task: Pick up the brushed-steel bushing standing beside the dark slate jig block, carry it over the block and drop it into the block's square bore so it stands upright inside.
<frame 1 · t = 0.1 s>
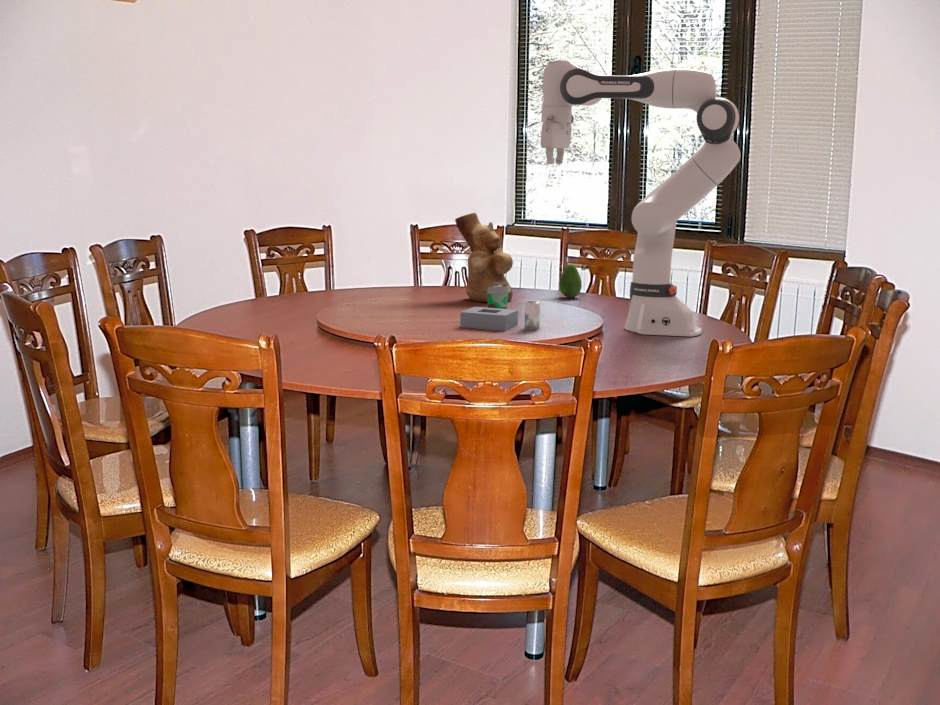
hand: (554, 164, 321), 48 cm above the table, tool pointing down, fingers open, 8 cm apart
steel bushing: (531, 328, 317), on the table
food container: (499, 317, 339), on the table
slate jig: (489, 325, 321), on the table
avocado: (569, 298, 384), on the table
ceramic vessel: (482, 300, 375), on the table
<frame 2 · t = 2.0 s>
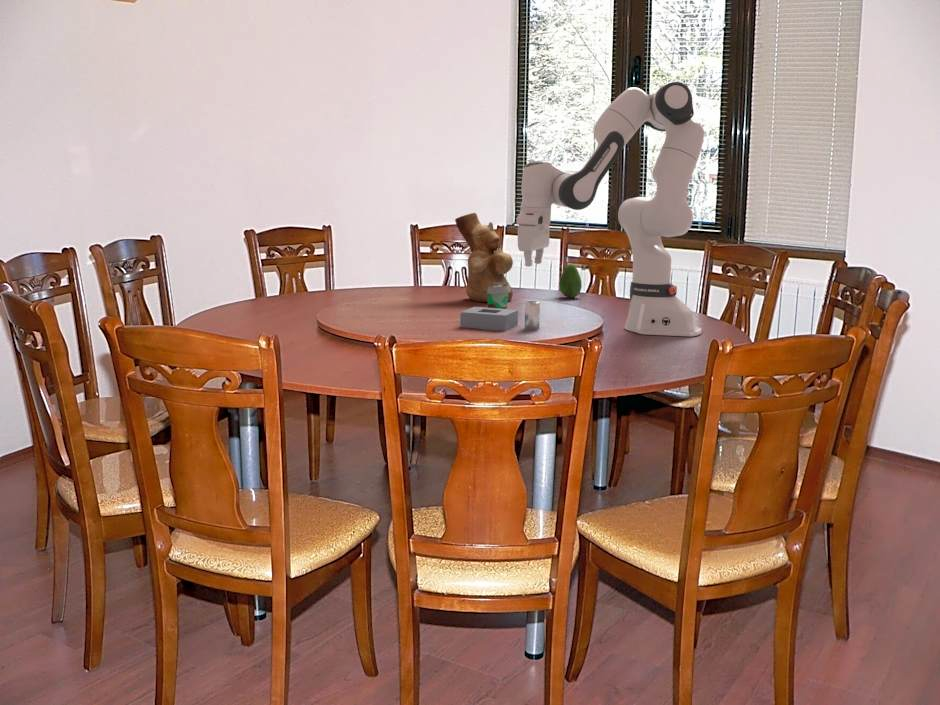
hand: (533, 264, 314), 19 cm above the table, tool pointing down, fingers open, 8 cm apart
nothing on the table moved.
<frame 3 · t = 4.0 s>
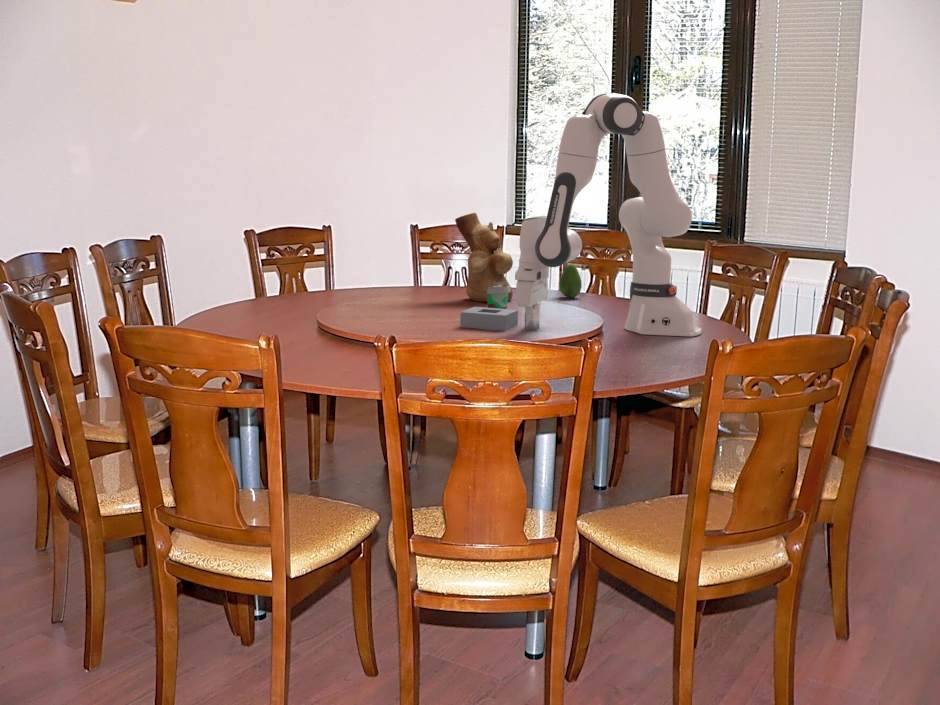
hand: (532, 318, 317), 3 cm above the table, tool pointing down, fingers closed on steel bushing, 4 cm apart
steel bushing: (531, 328, 317), on the table, touching gripper
everything else where it was.
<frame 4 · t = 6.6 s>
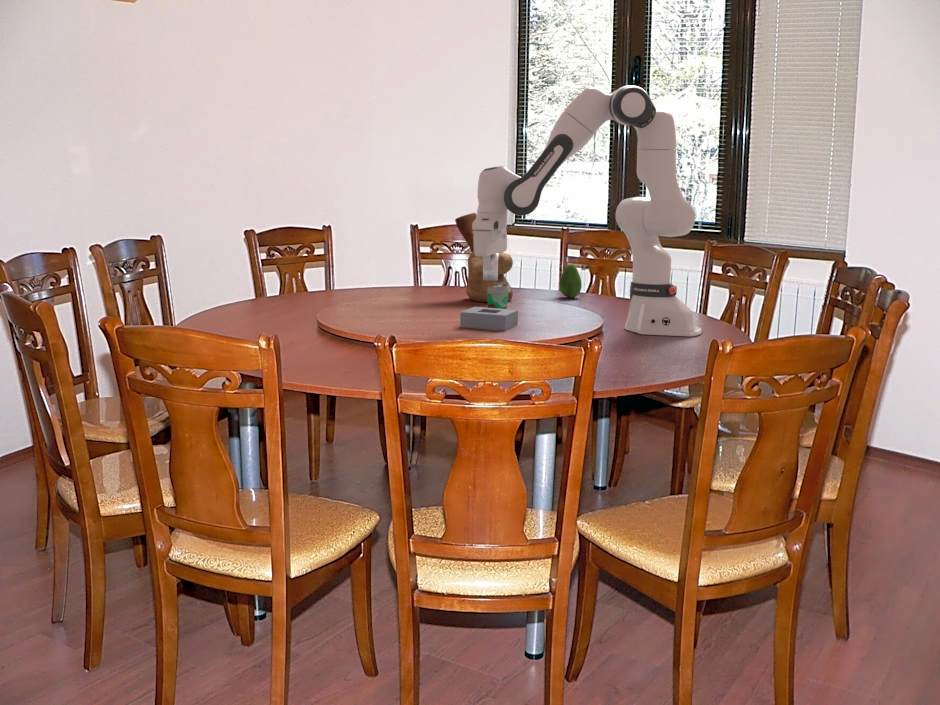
hand: (490, 269, 318), 17 cm above the table, tool pointing down, fingers closed on steel bushing, 4 cm apart
steel bushing: (490, 279, 318), point 14 cm above the table, touching gripper
everything else where it was.
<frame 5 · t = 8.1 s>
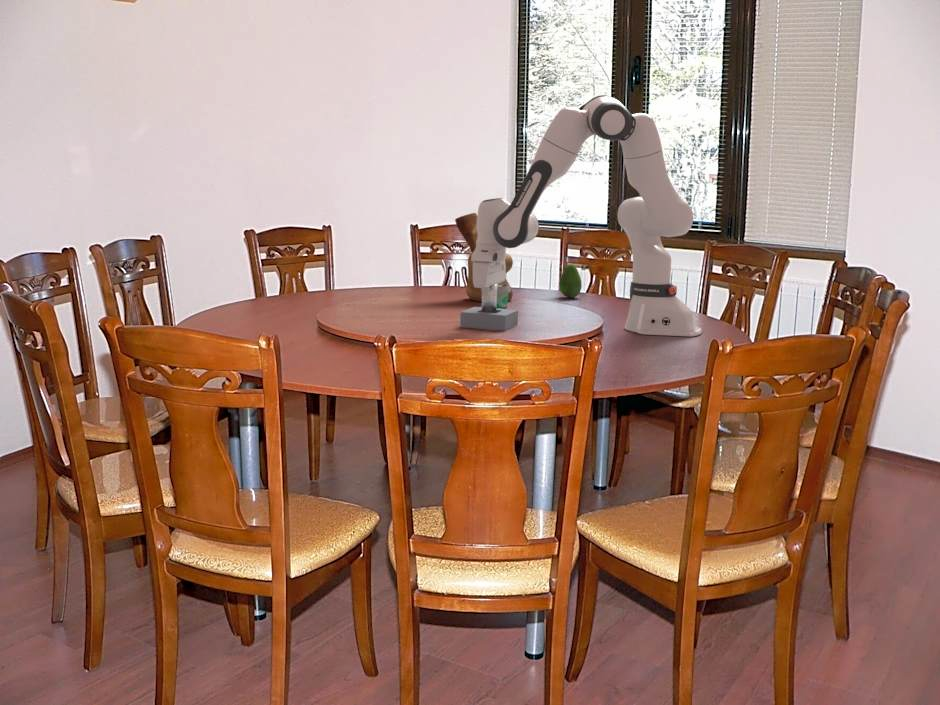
hand: (489, 300, 319), 8 cm above the table, tool pointing down, fingers closed on steel bushing, 4 cm apart
steel bushing: (488, 310, 320), point 5 cm above the table, touching gripper
everything else where it was.
when the fingers open (5 cm above the table, at t = 9.4 s): steel bushing drops 2 cm, resting in slate jig.
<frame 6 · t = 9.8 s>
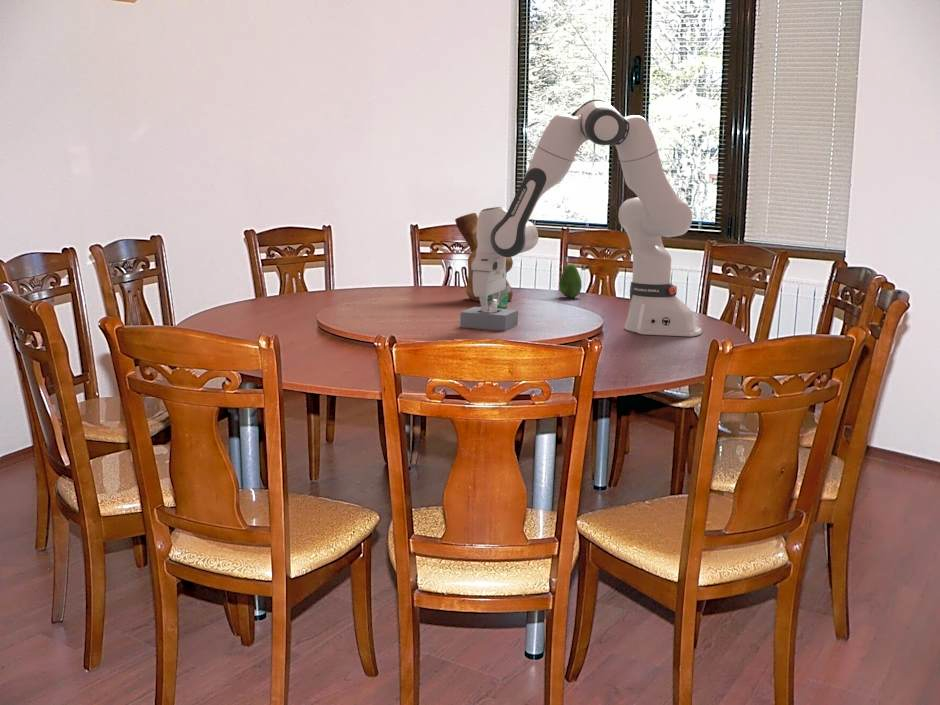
hand: (489, 308, 320), 5 cm above the table, tool pointing down, fingers open, 8 cm apart
steel bushing: (489, 326, 321), resting in slate jig
everything else where it was.
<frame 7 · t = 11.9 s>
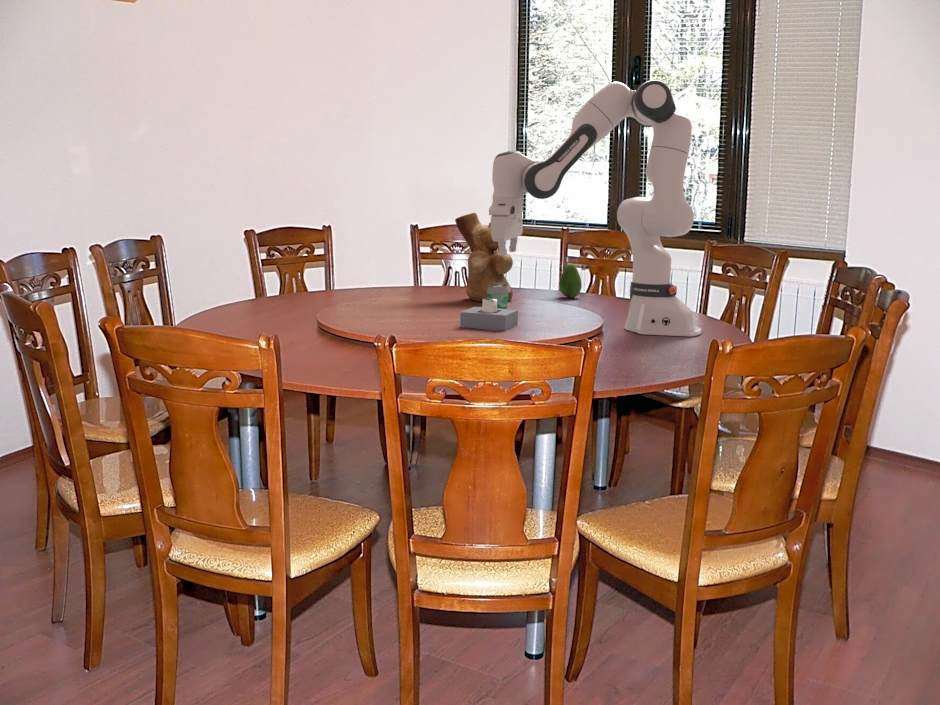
hand: (508, 253, 320), 21 cm above the table, tool pointing down, fingers open, 8 cm apart
nothing on the table moved.
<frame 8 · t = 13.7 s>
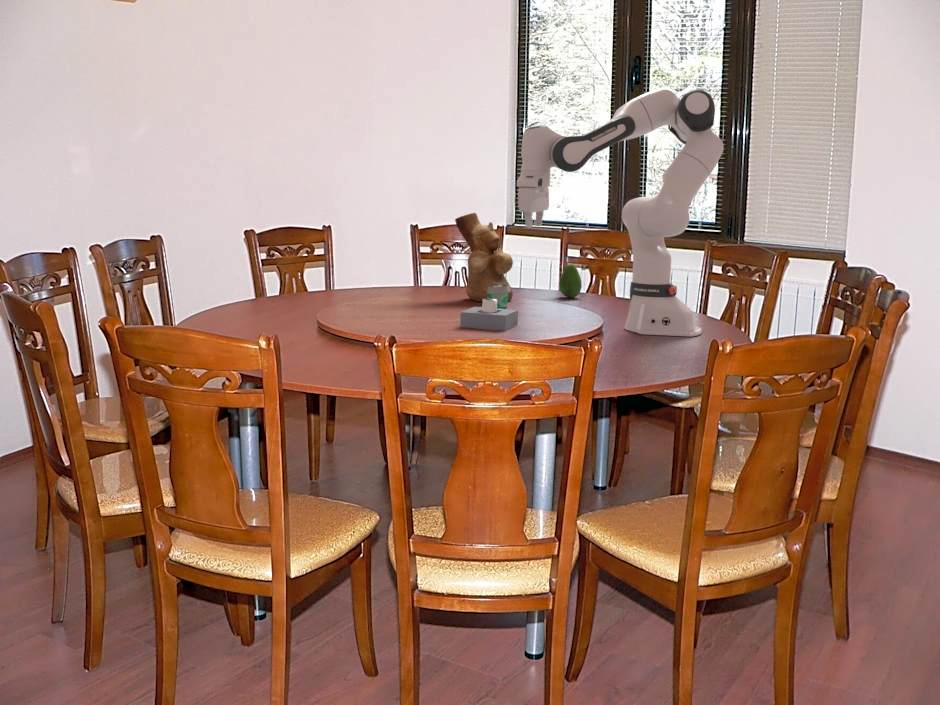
hand: (533, 226, 324), 29 cm above the table, tool pointing down, fingers open, 8 cm apart
nothing on the table moved.
at the end: steel bushing 0.0 cm off-centre on the slate jig, point 0.0 cm above the slate jig's base; steel bushing tilted 0°; the gripper is holding nothing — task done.
